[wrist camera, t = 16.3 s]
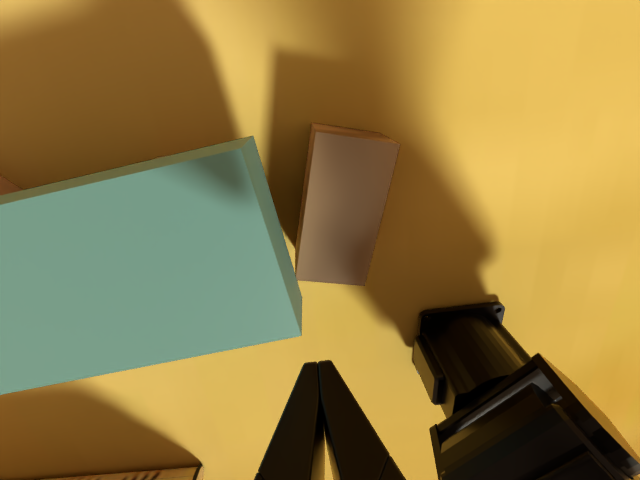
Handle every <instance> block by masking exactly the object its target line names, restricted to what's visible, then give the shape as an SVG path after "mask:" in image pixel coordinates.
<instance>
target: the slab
mask: <svg viewBox="0 0 640 480" xmlns="http://www.w3.org/2000/svg"><path fill="white" fill-rule="evenodd" d="M301 335H302V296H301V292H300V289H299V286H298V282H297V279H296V276H295V273H294V269H293V266H292V263H291V259H290V256H289V253H288V249H287V246H286V243H285V239H284V236H283V233H282V229H281V226H280V223H279V219H278V216H277V213H276V210H275V206H274V203H273V200H272V196H271V193H270V190H269V186H268V183H267V180H266V176H265V173H264V170H263V166H262V163H261V160H260V156H259V153H258V150H257V147H256V143H255V140H254V137H253V136H250V137H246V138H241V139H237V140H233V141H229V142H224V143H220V144H216V145H212V146H208V147H203V148H199V149H195V150H191V151H186V152H182V153H178V154H174V155H169V156H165V157H161V158H157V159H153V160H148V161H144V162H140V163H136V164H131V165H127V166H123V167H119V168H115V169H110V170H106V171H102V172H98V173H93V174H89V175H85V176H81V177H77V178H72V179H68V180H64V181H60V182H55V183H51V184H47V185H43V186H38V187H34V188H30V189H26V190H22V191H17V192H13V193H9V194H5V195H0V395H2V394H7V393H12V392H17V391H22V390H27V389H33V388H38V387H43V386H48V385H53V384H58V383H63V382H68V381H73V380H78V379H84V378H89V377H94V376H99V375H104V374H109V373H114V372H119V371H124V370H130V369H135V368H140V367H145V366H150V365H155V364H160V363H165V362H170V361H175V360H181V359H186V358H191V357H196V356H201V355H206V354H211V353H216V352H221V351H226V350H232V349H237V348H242V347H247V346H252V345H257V344H262V343H267V342H272V341H278V340H283V339H288V338H293V337H298V336H301Z"/></svg>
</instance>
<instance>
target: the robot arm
mask: <svg viewBox="0 0 640 480" xmlns="http://www.w3.org/2000/svg"><path fill="white" fill-rule="evenodd" d="M504 311H505V307H504V306H503V305H502V304H501V303H500V302H491V303H483V304H474V305H466V306H458V307H449V308H441V309H432V310H425V311H422V312H421V313H420V314H419V323H418V335H416V337H415V340H414V355H413V361H414V363H415V365H416V366H415V367H416V370H417V373H418V374H419V375H420V377H421V379H422V382H423V384H424V386H425V388H426V391H427V393H428V395H429V398H430V400H431V402H432V403H433V404H434V405H441V407H442V410H443V412H444V414H445V416H446V418H447V419H445V420H444V421H442V422H441V423H439V424H438V425H437V424H435V425H434V426H432V427H431V428H430V429H429V430H430V435H431V441H432V446H433V452H434V457H435V463H436V469H437V474H438V480H640V478H639V477H638V476H637V475H638V474H640V458H639V457H638V456H637V454H636V453H635V452H634V450H633V449H632V448H631V447H630V445H629V444H628V443H627V442H626V440H625V439H624V438H623V436H622V435H621V434H620V433H619V431H618V430H617V429H616V428H615V426H614V425H613V424H612V422H611V421H610V420H609V419H608V417H607V416H606V415H605V414H604V413H603V412H602V411H601V410H600V409H599V408H598V407H597V406H596V405H595V404H594V403H593V402H592V401H591V400H590V399H589V398H588V397H587V396H586V395H585V394H584V393H583V392H582V391H581V390H580V389H579V388H578V386H577V385H576V384H574V383H573V382H572V381H571V380H570V379H569V378H568V377H566V376H565V375H564V374H563V373H562V372H561V371H559V370H558V369H557V368H556V367H555V366H554V365H552V364H551V363H550V362H549V361H548V360H547V359H545V358H544V357H543V356H542V355H541V354H540V353H537V354H536V355H534V356H533V357H530V356H529V355H528V354H527V353H526V351H525V350H524V349H523V348H522V347H521V346H520V344H519V343H518V342H517V341H516V340H515V339H514V338H513V336H512V335H511V334H510V333H509V332H508V331H507V330H506V328H505V327H504V326H503V325H502V320H503V315H504ZM427 316H428V317H427ZM425 317H427V318H425ZM324 431H325V433H324ZM325 438H326V444H327V450H328V455H329V459H330V464H331V469H332V474H333V479H334V480H406V479H405V477H404V476H403V474H402V473H401V471H400V470H399V468H398V467H397V465H396V463H395V462H394V460H393V459H392V457H391V456H390V455H389V452H388V451H387V449H386V448H385V446H384V444H383V443H382V441H381V440H380V438H379V436H378V435H377V433H376V432H375V430H374V428H373V427H372V425H371V424H370V422H369V420H368V419H367V417H366V415H365V414H364V412H363V411H362V409H361V407H360V406H359V404H358V403H357V401H356V399H355V398H354V396H353V395H352V393H351V391H350V390H349V388H348V387H347V385H346V383H345V382H344V380H343V379H342V377H341V375H340V374H339V372H338V371H337V369H336V367H335V366H334V364H333V363H332V361H331V360H325V361H319V362H318V363H317V362H308V363H304V365H303V367H302V369H301V371H300V374H299V376H298V378H297V381H296V383H295V385H294V388H293V390H292V392H291V395H290V397H289V399H288V402H287V404H286V406H285V409H284V411H283V413H282V416H281V418H280V420H279V423H278V425H277V427H276V430H275V432H274V434H273V437H272V439H271V441H270V444H269V446H268V448H267V451H266V453H265V455H264V458H263V460H262V462H261V465H260V467H259V469H258V472H259V473H257V474H256V476H255V478H254V480H324V470H325Z"/></svg>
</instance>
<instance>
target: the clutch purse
mask: <svg viewBox="0 0 640 480" xmlns="http://www.w3.org/2000/svg"><path fill="white" fill-rule="evenodd" d="M203 474H204V469H203V466H202V465H199V466H198V467H189V468H177V469H165V470H153V471H140V472H128V473H116V474H104V475H91V476H79V477H67V478H55V479H42V480H203Z"/></svg>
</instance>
